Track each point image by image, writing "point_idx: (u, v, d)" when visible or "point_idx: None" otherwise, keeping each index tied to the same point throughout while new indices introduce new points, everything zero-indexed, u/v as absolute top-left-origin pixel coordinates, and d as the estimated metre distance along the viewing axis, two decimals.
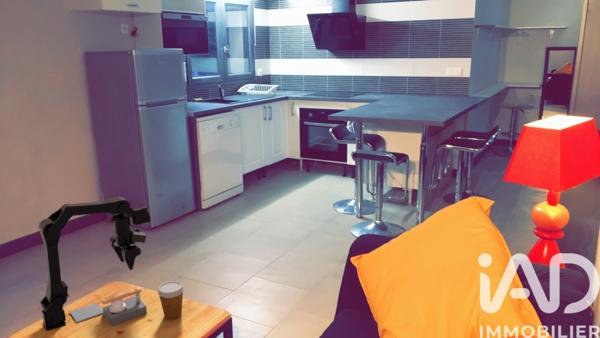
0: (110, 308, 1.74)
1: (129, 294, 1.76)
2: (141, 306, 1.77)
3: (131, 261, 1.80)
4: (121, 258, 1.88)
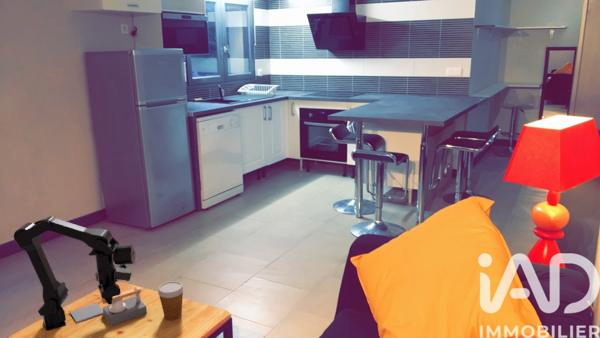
0: (110, 308, 1.74)
1: (129, 294, 1.76)
2: (141, 306, 1.77)
3: None
4: None
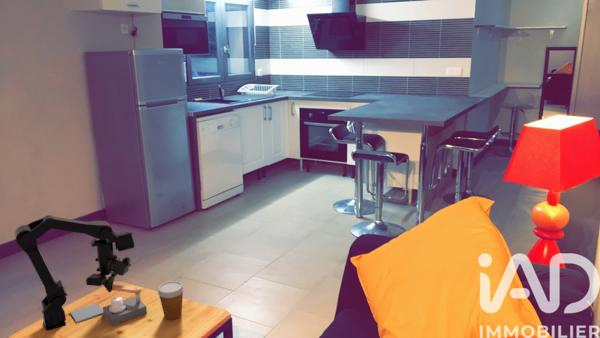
0: (110, 308, 1.74)
1: (127, 290, 1.79)
2: (141, 306, 1.77)
3: (107, 284, 1.78)
4: None
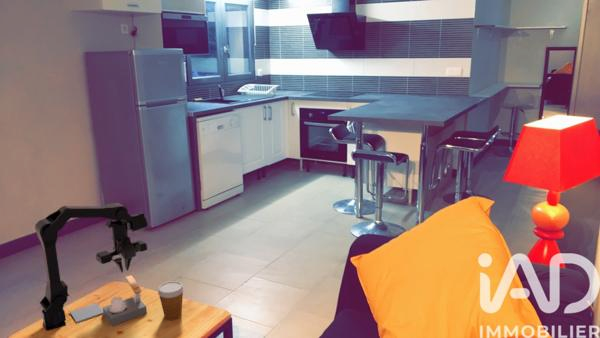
0: (110, 308, 1.74)
1: (131, 287, 1.81)
2: (141, 306, 1.77)
3: (118, 264, 1.84)
4: (125, 266, 1.87)
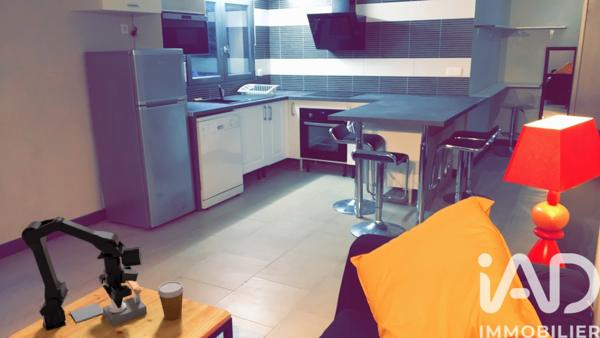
0: (110, 308, 1.74)
1: (131, 287, 1.81)
2: (141, 306, 1.77)
3: (119, 299, 1.72)
4: None
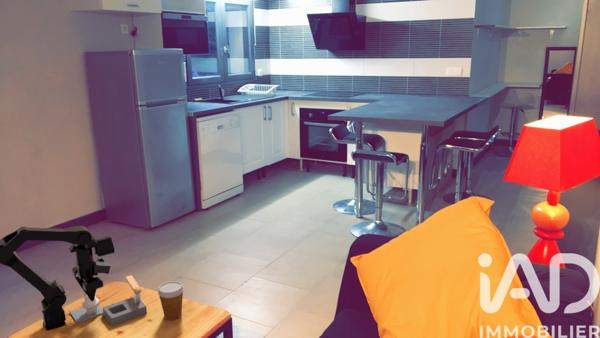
0: (83, 303, 1.76)
1: (131, 287, 1.81)
2: (141, 306, 1.77)
3: (92, 292, 1.73)
4: (85, 290, 1.79)
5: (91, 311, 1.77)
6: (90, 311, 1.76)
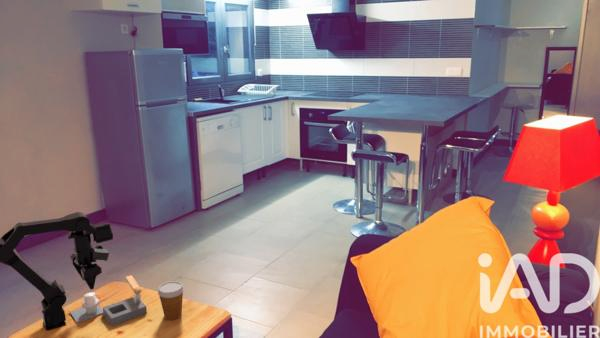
0: (83, 304, 1.76)
1: (131, 287, 1.81)
2: (141, 306, 1.77)
3: (91, 280, 1.70)
4: (83, 276, 1.78)
5: (91, 311, 1.77)
6: (90, 311, 1.76)
